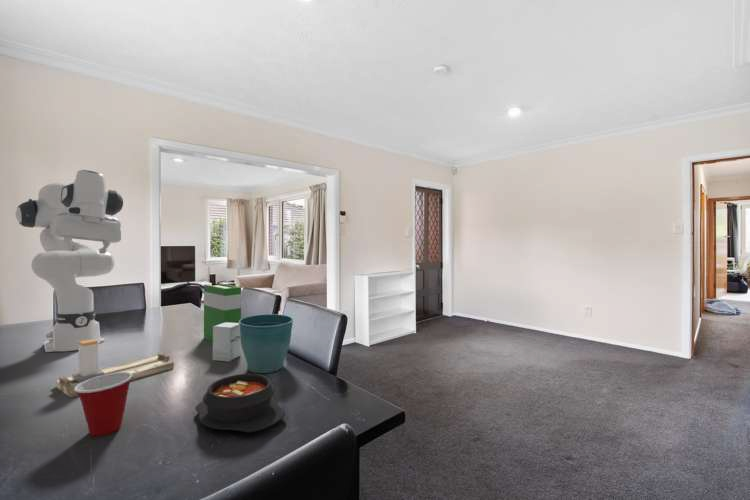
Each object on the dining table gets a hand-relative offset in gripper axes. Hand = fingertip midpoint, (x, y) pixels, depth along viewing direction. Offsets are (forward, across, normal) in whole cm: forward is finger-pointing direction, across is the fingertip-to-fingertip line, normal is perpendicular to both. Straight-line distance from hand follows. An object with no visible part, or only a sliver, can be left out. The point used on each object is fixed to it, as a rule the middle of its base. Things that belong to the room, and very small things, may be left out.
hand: (87, 252), depth 124 cm
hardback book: (+37, -46, +13) cm, 60 cm away
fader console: (+42, -2, +16) cm, 46 cm away
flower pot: (+45, -30, +52) cm, 75 cm away
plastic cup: (+50, +17, +46) cm, 70 cm away
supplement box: (+42, -31, +32) cm, 61 cm away
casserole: (+51, -2, +69) cm, 86 cm away
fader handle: (+41, +6, +16) cm, 44 cm away
